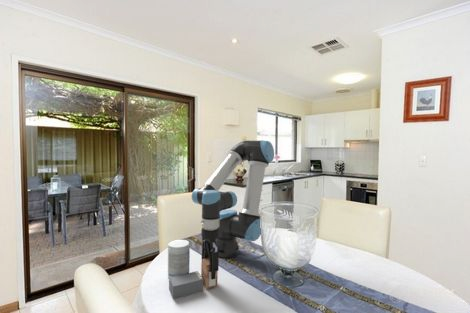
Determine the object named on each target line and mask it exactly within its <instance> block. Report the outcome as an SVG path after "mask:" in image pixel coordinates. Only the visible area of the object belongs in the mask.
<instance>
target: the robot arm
mask: <svg viewBox="0 0 470 313" xmlns="http://www.w3.org/2000/svg"><path fill="white" fill-rule="evenodd" d="M274 158H275V149H274V146H273V144H272V142H271V141H269V140H243V141H241V142H238V143H237V144H235V145H234V146H233V147H231V149H230V150H229V151H228V152H227V155H226V157H225V159H224V160H223V161H222V162H221V163H220V165H219V166H218V167H217V169H216V170H215V171H214V172H213V173H212V174H211V176H210V177H209V178H208V180H206V181H205V183H204V185H203V186H202V187H198V188H197V187H196V188H195V189H193V191H192V192H191V199H192V202H194V203H195V204H198V205H200V206H201V220H200V224H201V231H200V232H201V233H200V236H201V242H202V243H201V244H202V246H201V260H202V259H205V258H209V262H210V270H208V271H209V287H211V286H215V285H216V271H218V272H219V262H220V260H219V258H223V259H227V258H228V259H229V258H234V257H236V256H238V255H239V253H240V248H239V244H238V239H242V240H245V241H248V242H249V241H250V242H256V241H257V240H258V239H259V238H260V237H261V235H262V233H261V228H260V219H261V216H260V215H261V214H260V213H259V211H260V204H261V196H262V190H263V185H264V179H265V178H264V177H265V172H266V168H268V167H269V164H270V163H272V162H273V160H274ZM245 161H247V164H248V165H249V169H248V175H247V179H246V180H247V182H246V186H245V191H244V192H245V193H244V198H243V203H242V209H240V210H239V211H237V210H235V209H231V208H234V207H235V206H236V205H237V202H238V196H237V195H236V193H235V192H234V191H230V190H229V191H220V189H221V187H223V185H224V184H225V182H226V181H227V180H228V178H229V177H230V176H231V174H232V173H233V172H234V170H236V168H237V167H238V165H241V164H242V163H243V162H245ZM237 238H238V239H237Z"/></svg>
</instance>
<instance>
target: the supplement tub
mask: <svg viewBox="0 0 470 313" xmlns="http://www.w3.org/2000/svg"><path fill="white" fill-rule="evenodd" d="M167 245H168V247H167V277H168V278H169V277H173V276H178V275H182V274H187V273H190V259H191V258H190V257H191V256H190V255H191V254H190V253H191V252H190V251H191V249H190V242H189V241H188V240H186V239H175V240H172V241H170V242H168V244H167Z"/></svg>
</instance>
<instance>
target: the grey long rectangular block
mask: <svg viewBox="0 0 470 313" xmlns="http://www.w3.org/2000/svg"><path fill="white" fill-rule="evenodd" d="M168 279H169V280H168V290H169V292H170V295H171V298H172V300H176V299H179V298H184V297H187V296H190V295H194V294H198V293H201V292H203V291H204V286H203V278H202V277H201V274H200V272H199V271H192V272H189V273H187V274H182V275H178V276H173V277H168Z"/></svg>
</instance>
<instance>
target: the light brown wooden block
mask: <svg viewBox="0 0 470 313" xmlns="http://www.w3.org/2000/svg"><path fill="white" fill-rule="evenodd" d="M200 269H201V271H200V272H201V274H200V275H201V277H202V278H203V288H204V289H205V290H209V289H213V288H214V289H215V288H217V287H218V273H219V270H218V271H216V285H215V286H211V287H209V271H208V270H210V262H209V258H205V259H202V258H201V268H200Z"/></svg>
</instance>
